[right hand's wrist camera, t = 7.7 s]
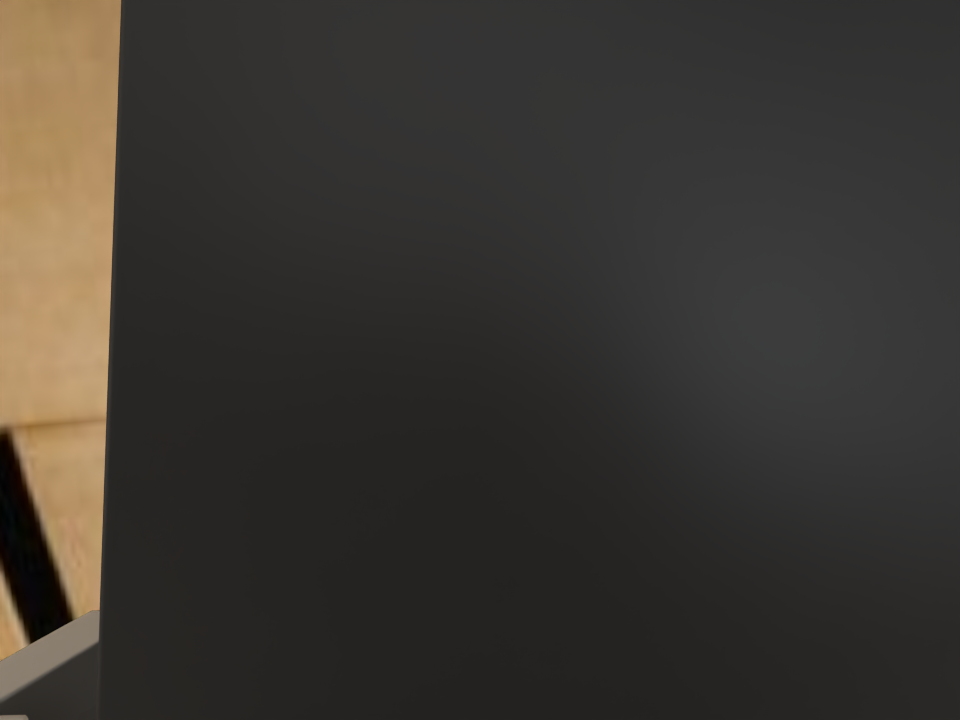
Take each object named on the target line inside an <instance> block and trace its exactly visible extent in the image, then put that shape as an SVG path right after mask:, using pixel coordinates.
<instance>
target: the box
mask: <svg viewBox="0 0 960 720" xmlns="http://www.w3.org/2000/svg"><path fill="white" fill-rule="evenodd" d="M96 720H960V0H121V26H120V54H119V82H118V110H117V139H116V167H115V195H114V223H113V251H112V280H111V308H110V336H109V364H108V392H107V421H106V449H105V477H104V505H103V533H102V562H101V590H100V618H99V646H98V674H97V703H96Z"/></svg>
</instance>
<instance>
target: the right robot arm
mask: <svg viewBox="0 0 960 720" xmlns="http://www.w3.org/2000/svg"><path fill="white" fill-rule="evenodd" d="M99 618H100V611H90V612H88V613H86V614H85V615H83V616H81V617H79V618H77V619H76V620H74V621H72V622H70V623H68V624H67V625H65V626H63V627H61V628H59V629H57V630H56V631H54V632H52V633H50V634H48V635H47V636H45V637H43V638H41V639H39V640H38V641H36V642H34V643H32V644H30V645H28V646H27V647H25V648H23V649H21V650H19V651H18V652H16V653H14V654H12V655H10V656H9V657H7V658H5V659H3V660H1V661H0V720H96V703H97V674H98V646H99Z"/></svg>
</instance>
